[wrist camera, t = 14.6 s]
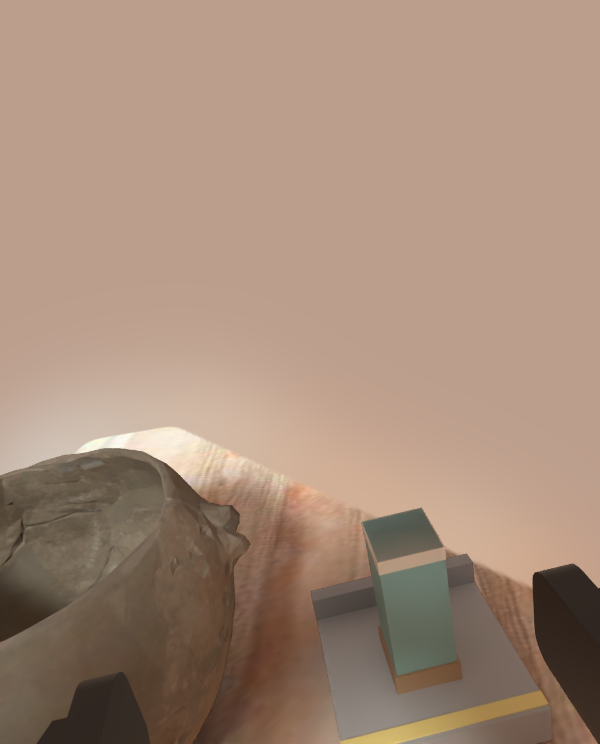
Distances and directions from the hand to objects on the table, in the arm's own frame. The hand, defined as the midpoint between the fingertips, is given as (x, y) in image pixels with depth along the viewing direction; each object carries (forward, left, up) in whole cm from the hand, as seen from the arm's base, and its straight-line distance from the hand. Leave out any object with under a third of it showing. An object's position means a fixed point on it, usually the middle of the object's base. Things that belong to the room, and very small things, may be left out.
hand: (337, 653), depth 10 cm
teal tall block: (+6, +22, -27) cm, 35 cm away
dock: (+6, +22, -30) cm, 38 cm away
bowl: (-19, +25, -30) cm, 44 cm away
